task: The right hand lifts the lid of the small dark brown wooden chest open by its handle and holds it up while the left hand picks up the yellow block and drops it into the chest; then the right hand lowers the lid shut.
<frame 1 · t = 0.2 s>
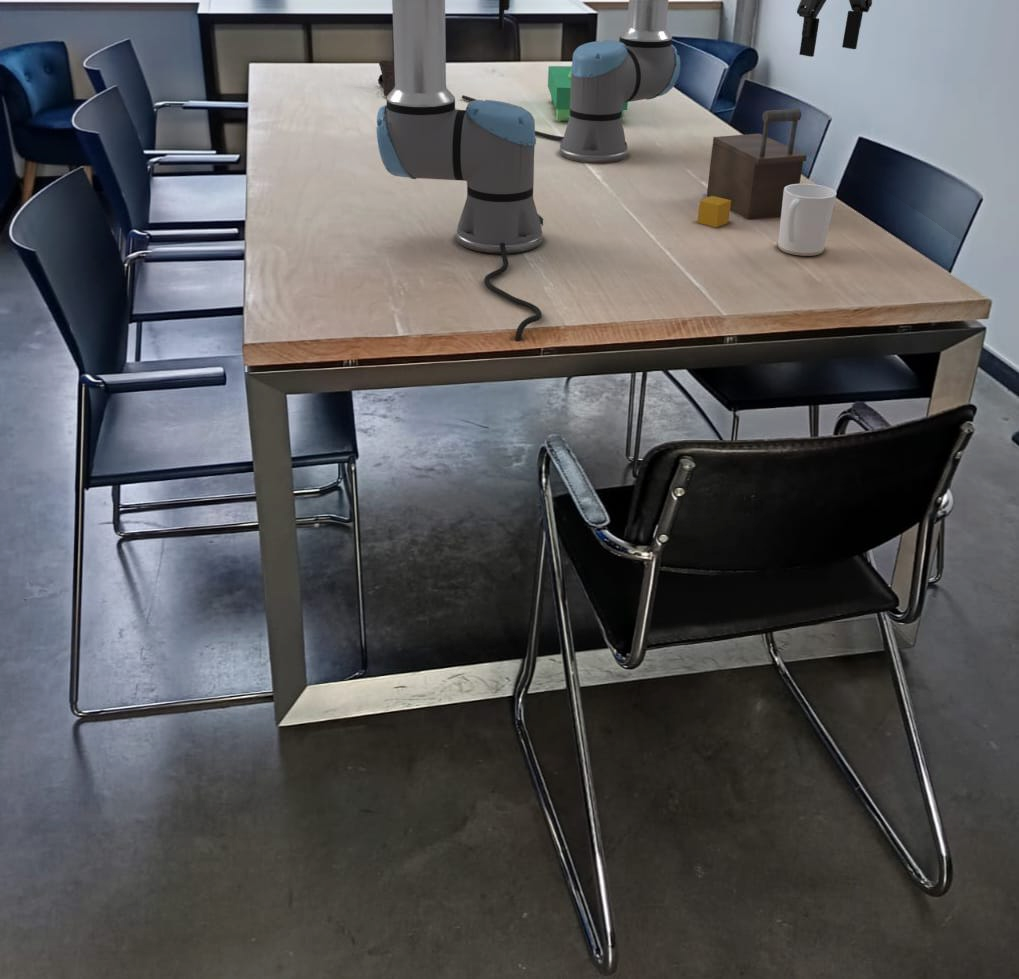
left hand: (468, 26, 224), 28 cm above the table, tool pointing down, fingers open, 13 cm apart
right hand: (828, 52, 208), 28 cm above the table, tool pointing down, fingers open, 13 cm apart
axe head: (403, 91, 300), on the table
mug: (797, 250, 194), on the table
lid: (761, 127, 209), point 15 cm above the table, hinge at -0.1°
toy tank: (583, 108, 287), on the table
chest: (749, 204, 217), on the table
block: (712, 222, 207), on the table
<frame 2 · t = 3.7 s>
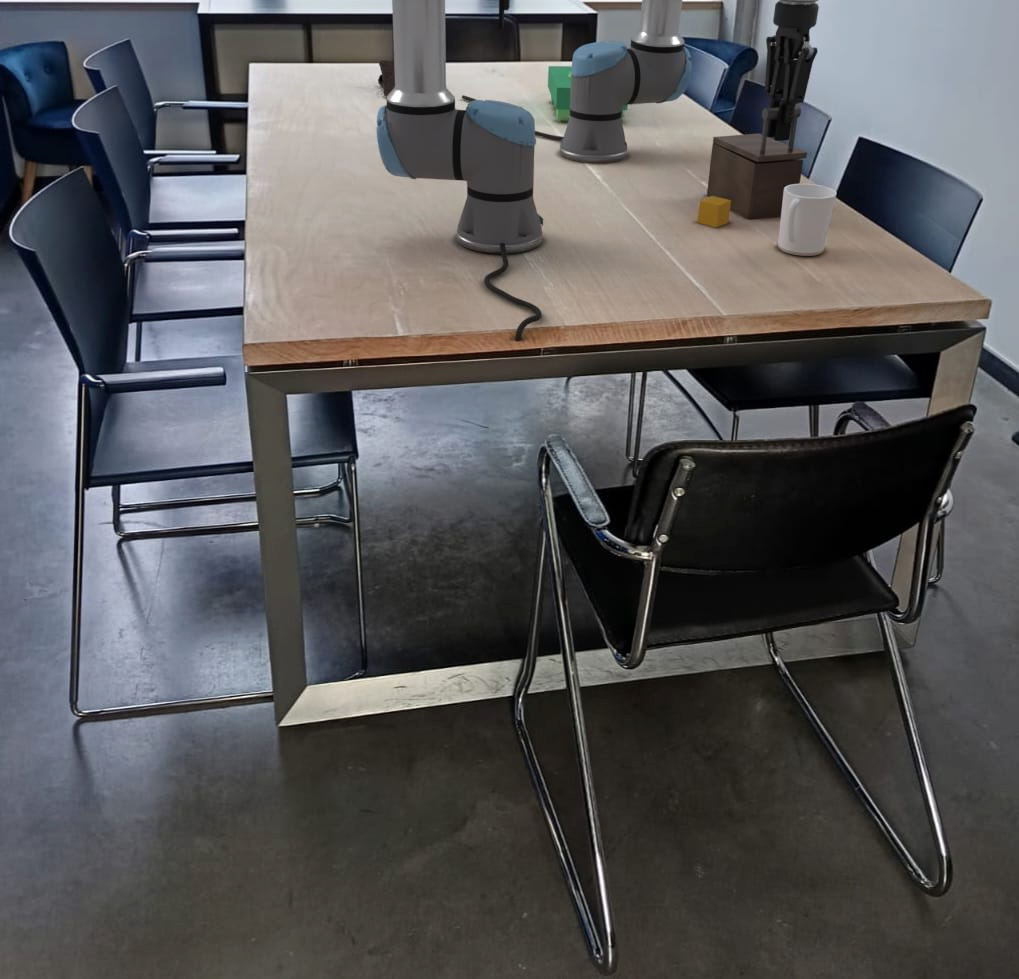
left hand: (468, 26, 224), 28 cm above the table, tool pointing down, fingers open, 13 cm apart
right hand: (777, 137, 205), 15 cm above the table, tool pointing down, fingers closed on lid, 2 cm apart
lid: (761, 125, 209), point 15 cm above the table, hinge at 1.6°, touching right hand
everything else where it was.
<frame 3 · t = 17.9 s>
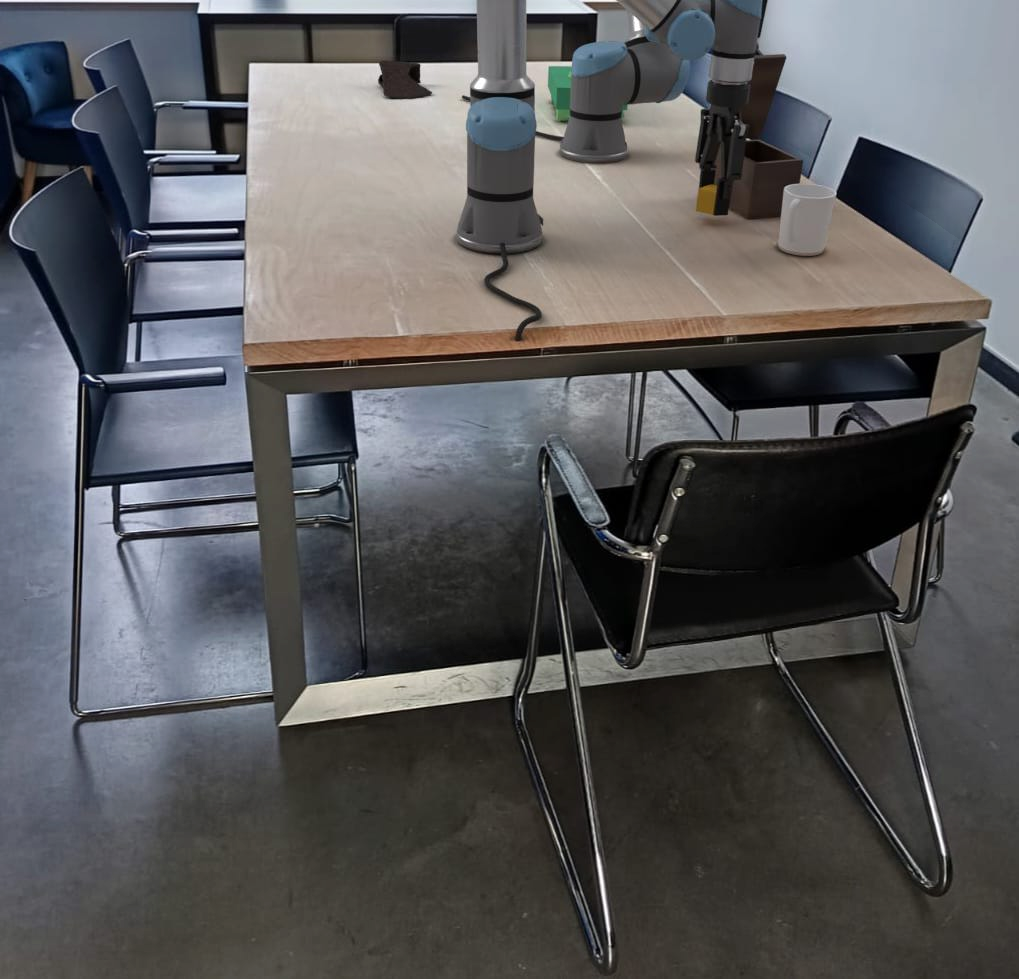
left hand: (712, 209, 206), 3 cm above the table, tool pointing down, fingers closed on block, 6 cm apart
right hand: (736, 73, 214), 23 cm above the table, tool pointing down, fingers closed on lid, 2 cm apart
lid: (739, 87, 214), point 20 cm above the table, hinge at 72.1°, touching right hand
block: (711, 211, 206), point 2 cm above the table, touching left hand
everything else where it was.
when the left hand's fingers open (19 cm above the table, at t = 21.2 s): block drops 15 cm and tips over, resting on chest.
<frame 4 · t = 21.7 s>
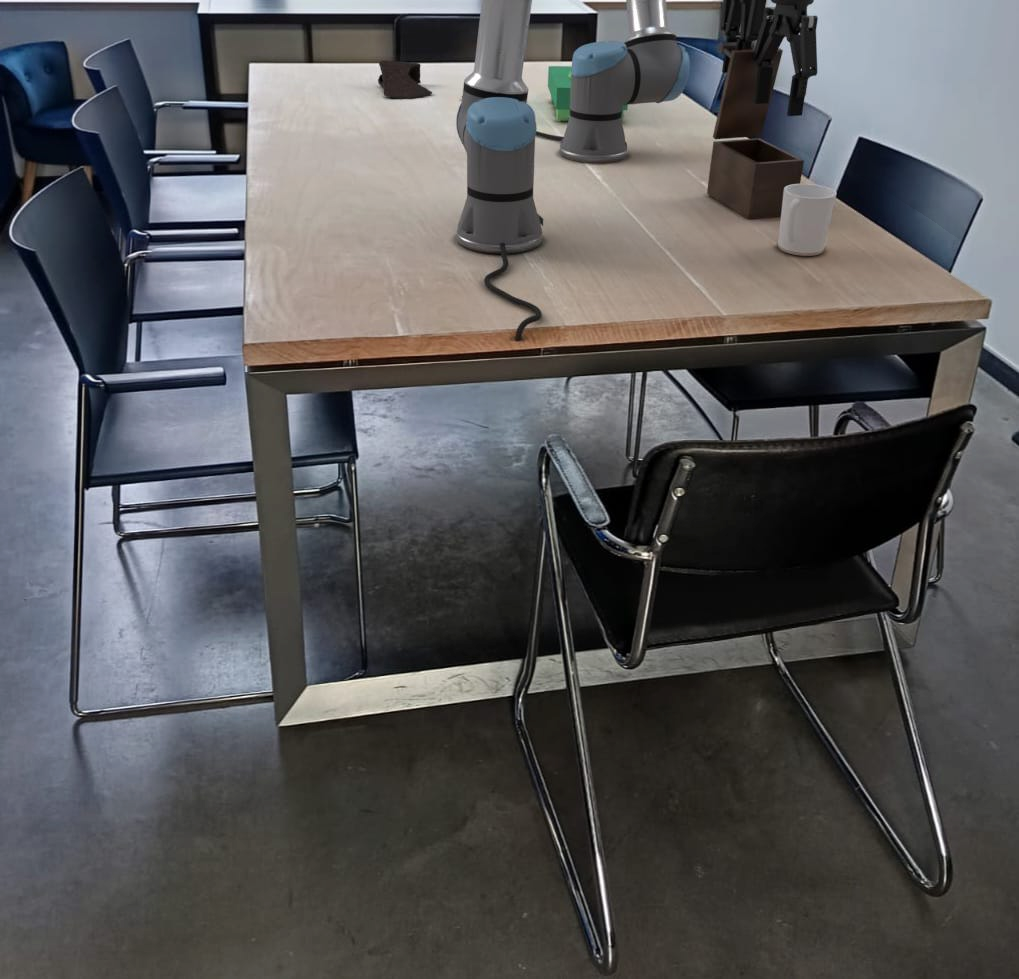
left hand: (777, 109, 203), 19 cm above the table, tool pointing down, fingers open, 11 cm apart
right hand: (734, 74, 215), 22 cm above the table, tool pointing down, fingers open, 3 cm apart
lid: (737, 86, 215), point 21 cm above the table, hinge at 79.9°, touching left hand, right hand
chest: (749, 203, 217), on the table, touching block
block: (752, 191, 214), point 3 cm above the table, tilted 89°, touching chest
everything else where it was.
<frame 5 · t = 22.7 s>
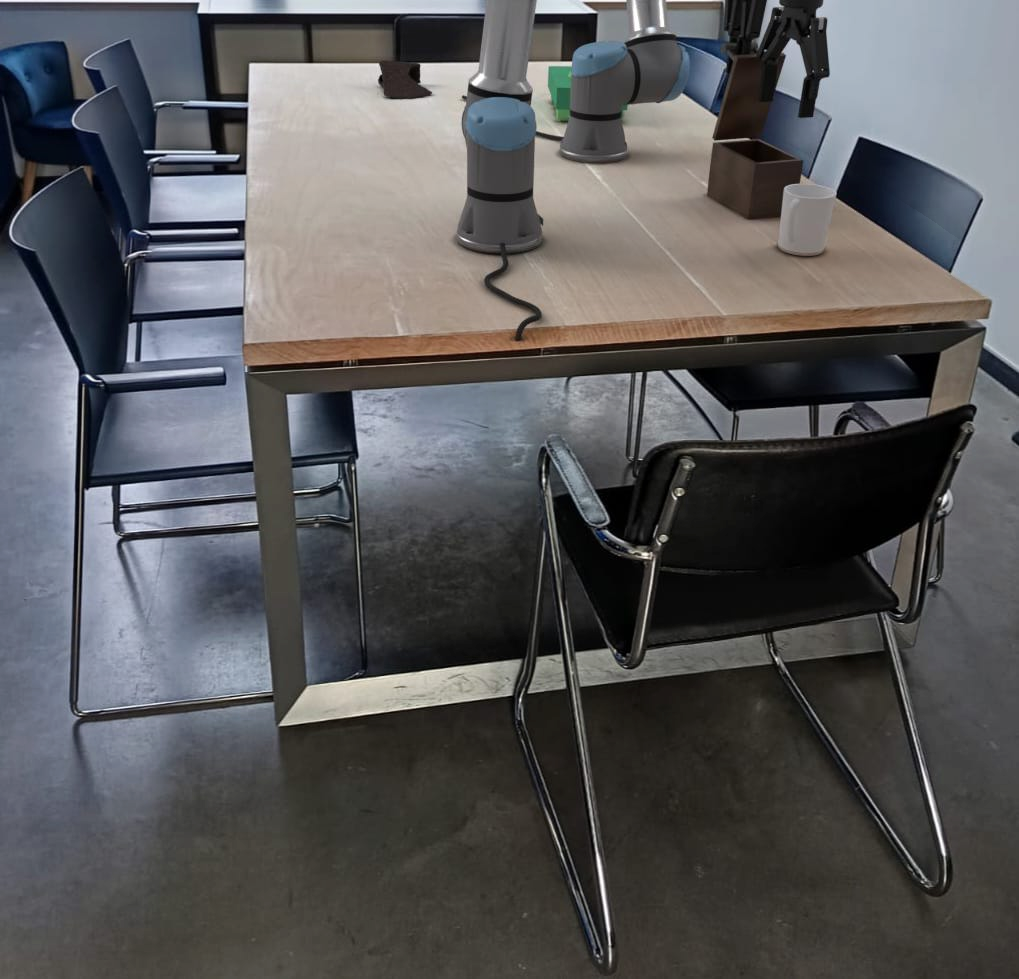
left hand: (784, 109, 201), 20 cm above the table, tool pointing down, fingers open, 13 cm apart
right hand: (736, 73, 214), 23 cm above the table, tool pointing down, fingers closed on lid, 2 cm apart
lid: (738, 87, 214), point 21 cm above the table, hinge at 73.6°, touching right hand
everything else where it was.
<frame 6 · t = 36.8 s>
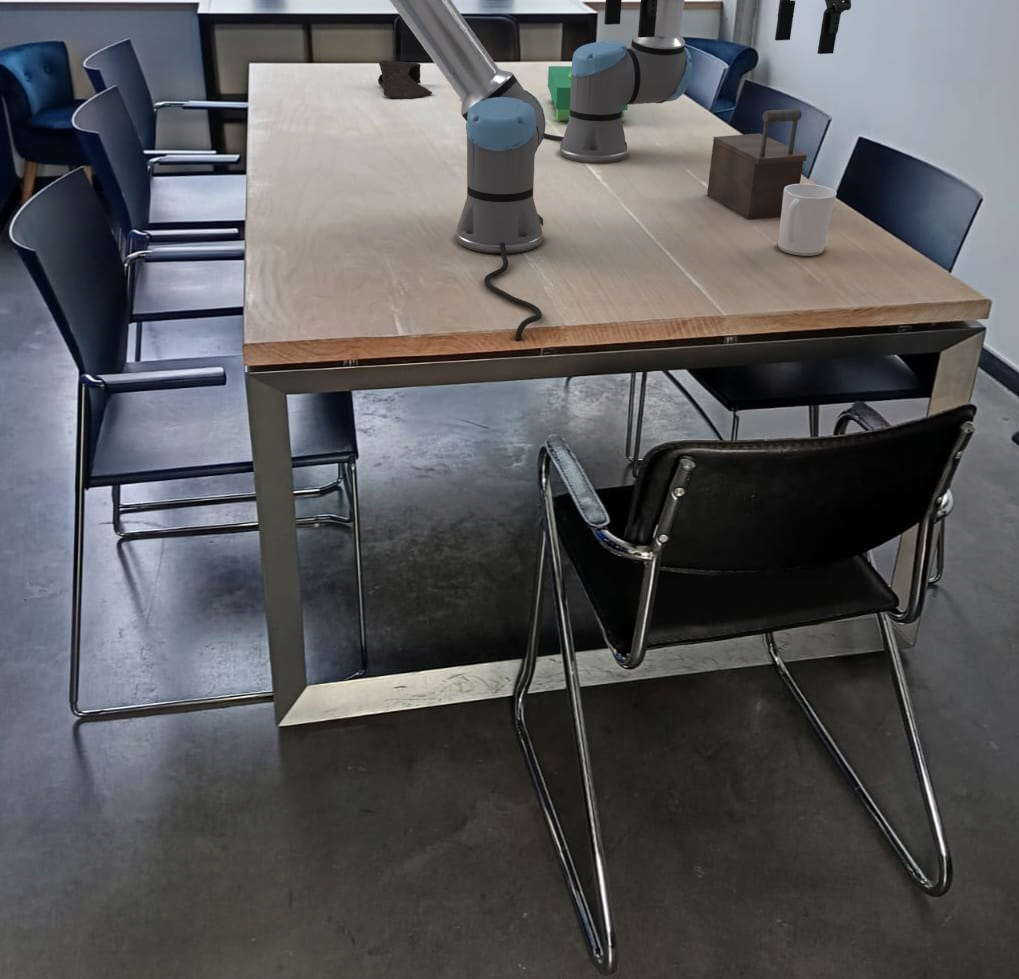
left hand: (628, 30, 187), 34 cm above the table, tool pointing down, fingers open, 13 cm apart
right hand: (803, 46, 193), 31 cm above the table, tool pointing down, fingers open, 13 cm apart
lid: (761, 127, 209), point 15 cm above the table, hinge at -0.1°
everything else where it was.
at the end: block inside the target area in the chest (1.5 cm from its centre), point 3.0 cm above the chest's base; lid at +0° (first picture: +0°); the left hand is holding nothing; the right hand is holding nothing; chest tilted 0°; chest moved 0.1 cm from its start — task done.
